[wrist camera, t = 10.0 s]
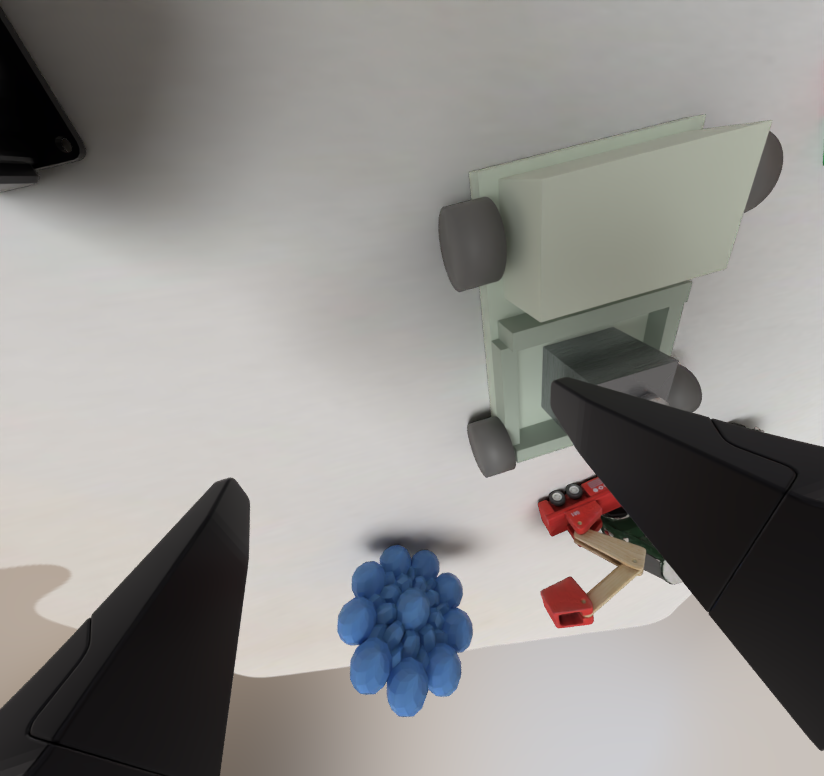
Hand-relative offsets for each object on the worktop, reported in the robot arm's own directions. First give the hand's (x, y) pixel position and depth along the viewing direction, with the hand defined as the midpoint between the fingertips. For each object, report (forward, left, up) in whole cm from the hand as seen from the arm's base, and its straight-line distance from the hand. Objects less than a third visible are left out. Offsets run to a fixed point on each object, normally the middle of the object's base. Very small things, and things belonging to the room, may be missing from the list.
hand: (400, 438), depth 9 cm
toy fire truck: (+24, +14, -12) cm, 30 cm away
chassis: (+5, +13, -12) cm, 18 cm away
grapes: (+24, -4, -12) cm, 27 cm away
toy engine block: (+8, +13, -11) cm, 19 cm away
